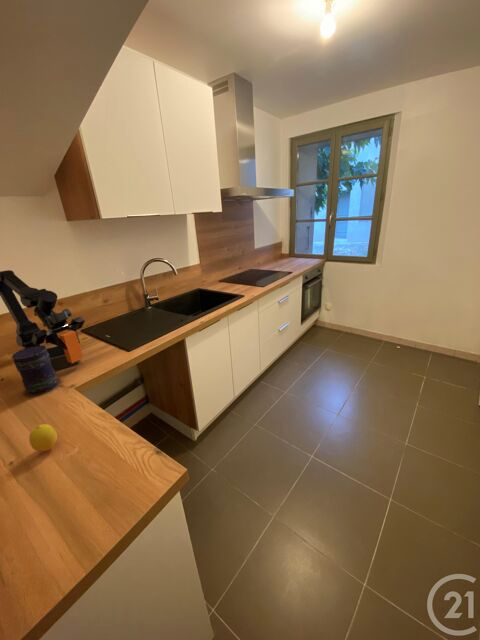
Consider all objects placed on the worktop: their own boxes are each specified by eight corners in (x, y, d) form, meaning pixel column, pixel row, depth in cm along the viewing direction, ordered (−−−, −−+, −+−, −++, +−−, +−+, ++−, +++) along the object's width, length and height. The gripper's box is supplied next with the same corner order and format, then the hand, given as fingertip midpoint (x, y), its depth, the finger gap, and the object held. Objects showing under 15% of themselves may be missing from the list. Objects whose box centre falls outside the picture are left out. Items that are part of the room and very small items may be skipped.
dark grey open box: (44, 361, 117) (40, 350, 115) (76, 352, 123) (73, 341, 121) (43, 374, 106) (38, 362, 104) (78, 363, 112) (74, 352, 110)
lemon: (45, 441, 72) (36, 418, 69) (65, 440, 72) (56, 417, 69) (30, 458, 67) (19, 434, 64) (51, 458, 67) (40, 434, 64)
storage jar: (20, 393, 94) (4, 357, 89) (46, 378, 103) (33, 344, 98) (39, 397, 91) (24, 360, 86) (65, 381, 100) (52, 346, 94)
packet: (67, 361, 106) (58, 334, 101) (79, 356, 110) (70, 330, 105) (72, 363, 104) (63, 336, 100) (83, 357, 108) (75, 331, 104)
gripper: (24, 312, 93) (52, 345, 92) (75, 298, 108) (99, 326, 107) (21, 329, 99) (46, 360, 98) (70, 313, 114) (92, 340, 113)
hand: (73, 346), depth 104 cm, fingers closed on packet, 5 cm apart
